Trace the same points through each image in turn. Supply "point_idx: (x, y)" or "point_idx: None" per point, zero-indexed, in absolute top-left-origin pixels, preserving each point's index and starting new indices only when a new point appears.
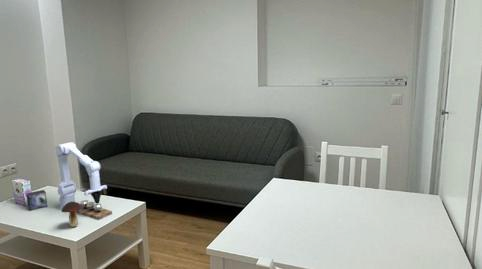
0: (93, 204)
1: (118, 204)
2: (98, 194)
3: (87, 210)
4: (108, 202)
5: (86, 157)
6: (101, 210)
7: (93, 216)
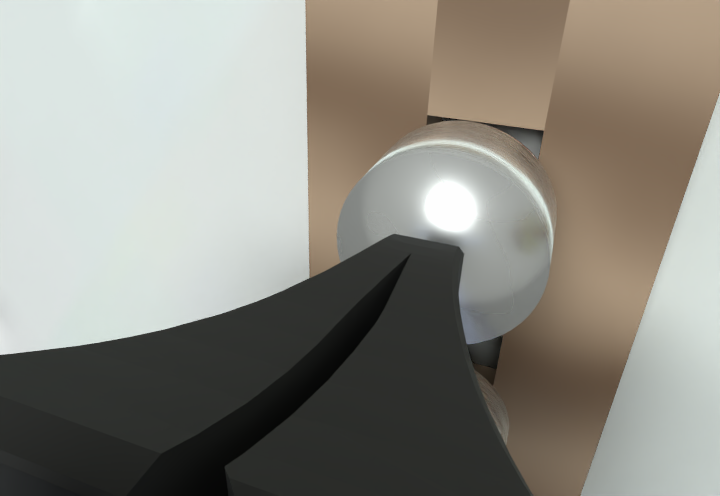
0: None
1: (49, 166)
2: (282, 427)
3: None
4: None
5: None
6: None
7: (703, 118)
